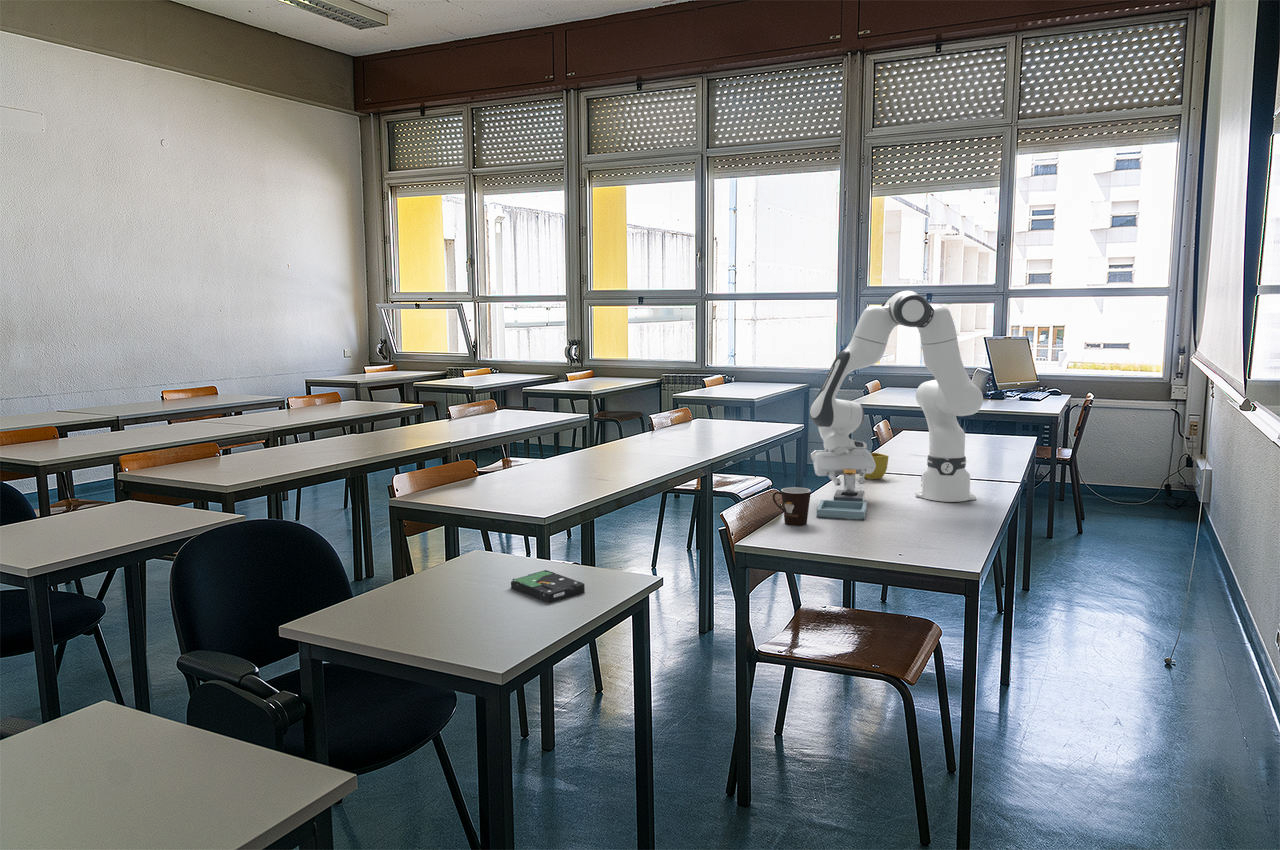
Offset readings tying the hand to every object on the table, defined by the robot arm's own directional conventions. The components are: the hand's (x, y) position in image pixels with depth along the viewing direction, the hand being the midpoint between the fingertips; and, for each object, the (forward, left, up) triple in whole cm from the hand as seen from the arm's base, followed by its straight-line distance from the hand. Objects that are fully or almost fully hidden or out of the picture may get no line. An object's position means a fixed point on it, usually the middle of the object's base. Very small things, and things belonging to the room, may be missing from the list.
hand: (850, 483), depth 275 cm
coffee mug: (+30, -14, -7) cm, 34 cm away
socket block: (-1, 0, -6) cm, 6 cm away
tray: (+15, -1, -6) cm, 17 cm away
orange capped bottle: (-1, 0, -6) cm, 6 cm away
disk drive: (+108, -59, -7) cm, 123 cm away
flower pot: (-46, +5, -7) cm, 46 cm away
